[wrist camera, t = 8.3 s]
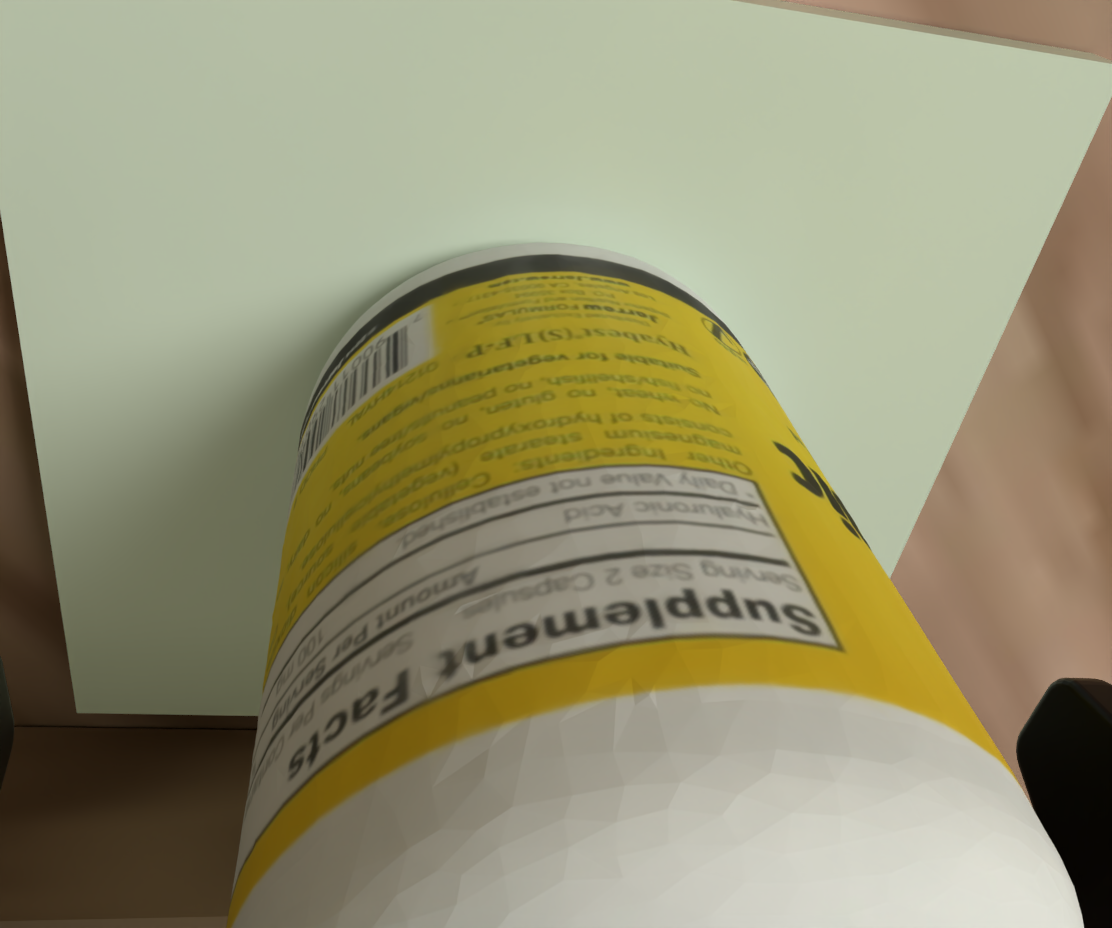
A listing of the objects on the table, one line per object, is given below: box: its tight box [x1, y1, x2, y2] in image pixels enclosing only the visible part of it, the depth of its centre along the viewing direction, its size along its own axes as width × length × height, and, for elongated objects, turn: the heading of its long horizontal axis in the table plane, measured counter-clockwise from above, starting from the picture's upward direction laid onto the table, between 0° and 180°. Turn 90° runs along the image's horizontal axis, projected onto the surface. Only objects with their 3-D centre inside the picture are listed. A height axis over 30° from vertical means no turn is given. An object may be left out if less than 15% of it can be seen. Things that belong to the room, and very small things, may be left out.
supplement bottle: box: [226, 242, 1084, 928], centre depth 8 cm, size 5×5×10 cm
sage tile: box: [0, 0, 1112, 716], centre depth 12 cm, size 11×10×1 cm
